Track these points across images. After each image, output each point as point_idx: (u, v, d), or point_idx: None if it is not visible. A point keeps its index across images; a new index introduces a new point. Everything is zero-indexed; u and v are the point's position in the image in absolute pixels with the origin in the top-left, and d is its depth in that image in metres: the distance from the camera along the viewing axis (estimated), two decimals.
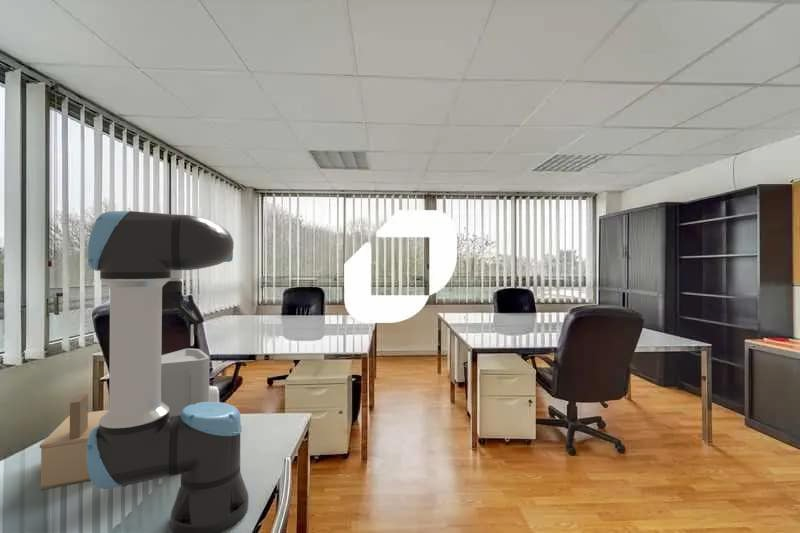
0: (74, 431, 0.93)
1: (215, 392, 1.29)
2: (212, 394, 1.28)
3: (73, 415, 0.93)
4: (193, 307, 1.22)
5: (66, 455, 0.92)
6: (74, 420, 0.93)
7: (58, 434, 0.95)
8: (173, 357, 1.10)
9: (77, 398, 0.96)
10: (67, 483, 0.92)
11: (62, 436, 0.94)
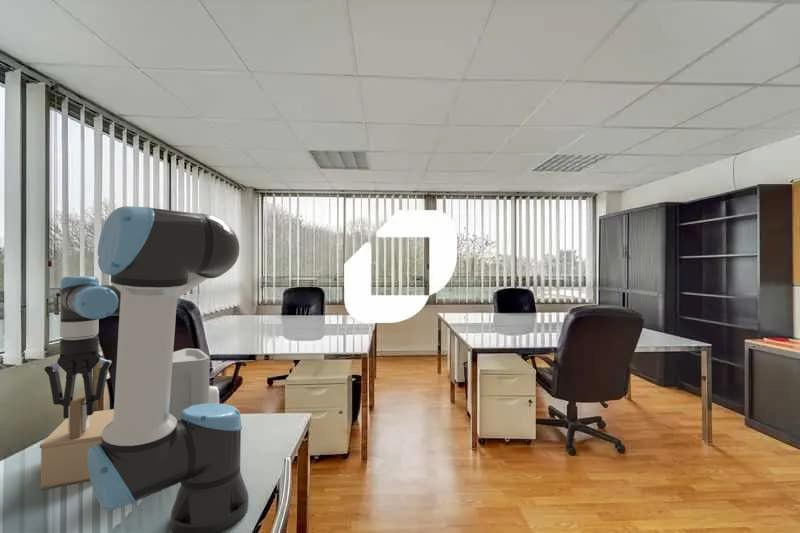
0: (74, 431, 0.93)
1: (215, 392, 1.29)
2: (212, 394, 1.28)
3: (73, 415, 0.93)
4: (100, 377, 0.97)
5: (66, 455, 0.92)
6: (74, 420, 0.93)
7: (58, 434, 0.95)
8: (173, 357, 1.10)
9: (77, 398, 0.96)
10: (67, 483, 0.92)
11: (62, 436, 0.94)
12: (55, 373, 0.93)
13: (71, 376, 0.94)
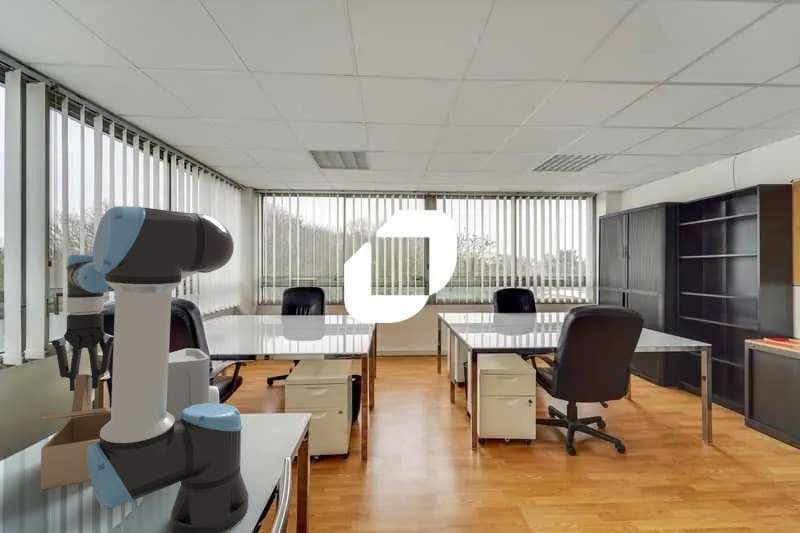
0: (77, 404, 0.95)
1: (215, 392, 1.29)
2: (212, 394, 1.28)
3: (78, 387, 0.96)
4: (105, 352, 1.01)
5: (66, 455, 0.92)
6: (78, 393, 0.96)
7: None
8: (173, 357, 1.10)
9: None
10: (67, 483, 0.92)
11: None
12: (62, 347, 0.97)
13: (77, 350, 0.98)
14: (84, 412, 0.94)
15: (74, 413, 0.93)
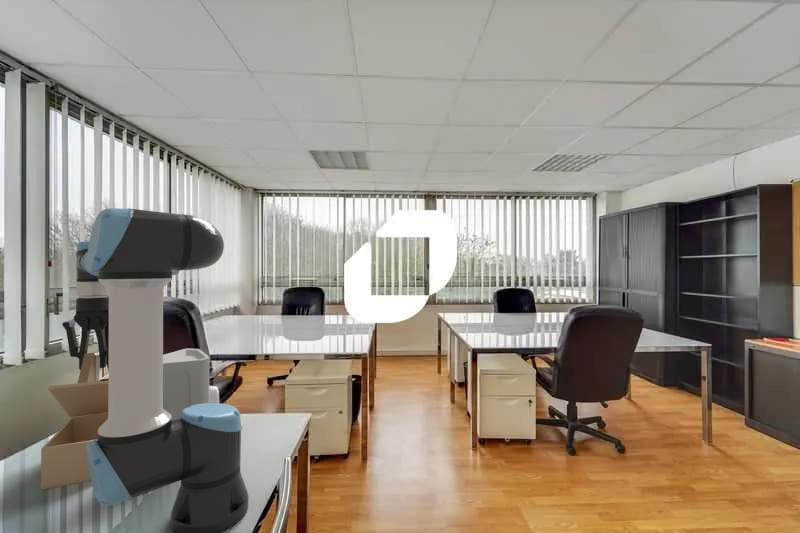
0: (83, 378, 0.99)
1: (215, 392, 1.29)
2: (212, 394, 1.28)
3: (85, 364, 1.01)
4: None
5: (66, 455, 0.92)
6: (85, 368, 1.00)
7: None
8: (173, 357, 1.10)
9: None
10: (67, 483, 0.92)
11: None
12: (72, 328, 1.03)
13: (86, 331, 1.04)
14: (89, 383, 0.97)
15: (79, 384, 0.97)
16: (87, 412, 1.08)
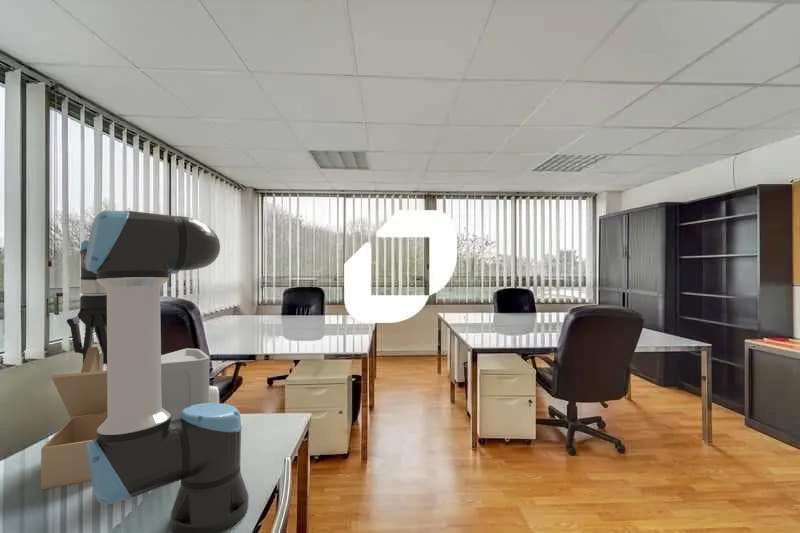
0: (85, 369, 1.01)
1: (215, 392, 1.29)
2: (212, 394, 1.28)
3: (88, 356, 1.03)
4: None
5: (66, 455, 0.92)
6: (88, 360, 1.03)
7: None
8: (173, 357, 1.10)
9: None
10: (67, 483, 0.92)
11: None
12: (76, 325, 1.06)
13: (90, 328, 1.07)
14: (92, 373, 0.99)
15: (82, 373, 0.99)
16: (87, 411, 1.08)
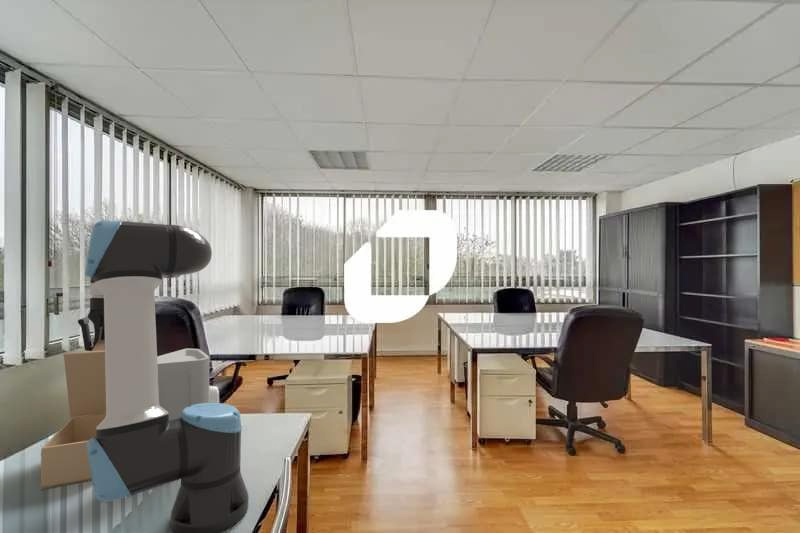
0: (95, 351, 1.08)
1: (215, 392, 1.29)
2: (212, 394, 1.28)
3: (98, 344, 1.11)
4: None
5: (66, 455, 0.92)
6: (97, 346, 1.10)
7: None
8: (173, 357, 1.10)
9: None
10: (67, 483, 0.92)
11: None
12: (86, 325, 1.14)
13: (99, 328, 1.15)
14: (100, 351, 1.06)
15: (92, 351, 1.06)
16: (88, 409, 1.09)
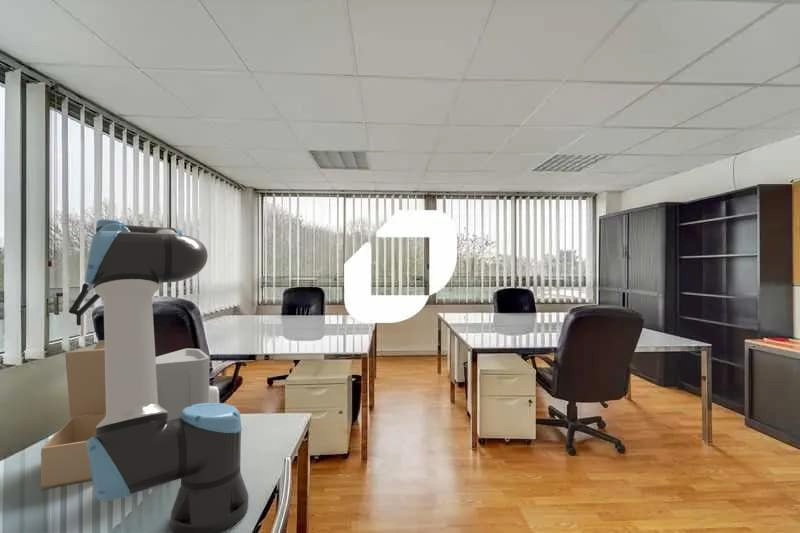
0: None
1: (215, 392, 1.29)
2: (212, 394, 1.28)
3: (99, 344, 1.12)
4: None
5: (66, 455, 0.92)
6: (98, 346, 1.11)
7: None
8: (173, 357, 1.10)
9: None
10: (67, 483, 0.92)
11: None
12: (86, 291, 1.18)
13: (97, 297, 1.19)
14: (101, 349, 1.07)
15: (93, 350, 1.07)
16: (88, 408, 1.09)
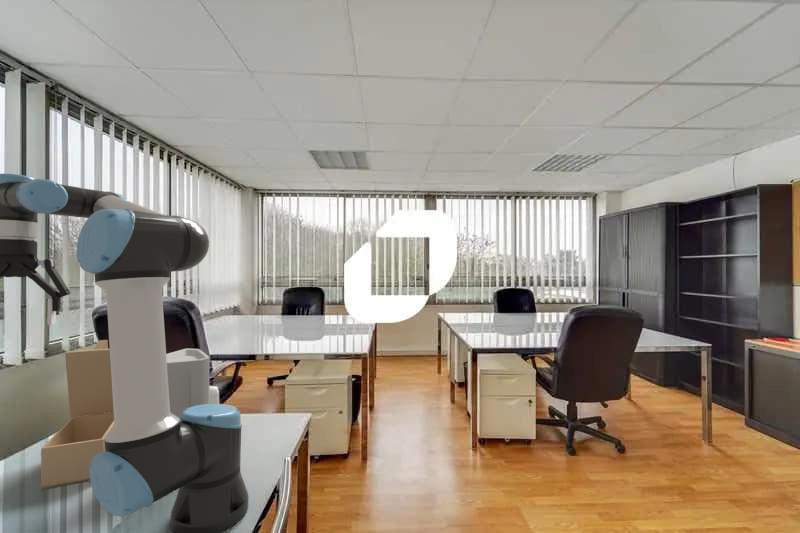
0: None
1: (215, 392, 1.29)
2: (212, 394, 1.28)
3: (99, 344, 1.12)
4: (51, 275, 0.94)
5: (66, 455, 0.92)
6: (98, 346, 1.11)
7: None
8: (173, 357, 1.10)
9: None
10: (67, 483, 0.92)
11: None
12: None
13: None
14: (101, 349, 1.07)
15: (93, 350, 1.07)
16: (88, 408, 1.09)
